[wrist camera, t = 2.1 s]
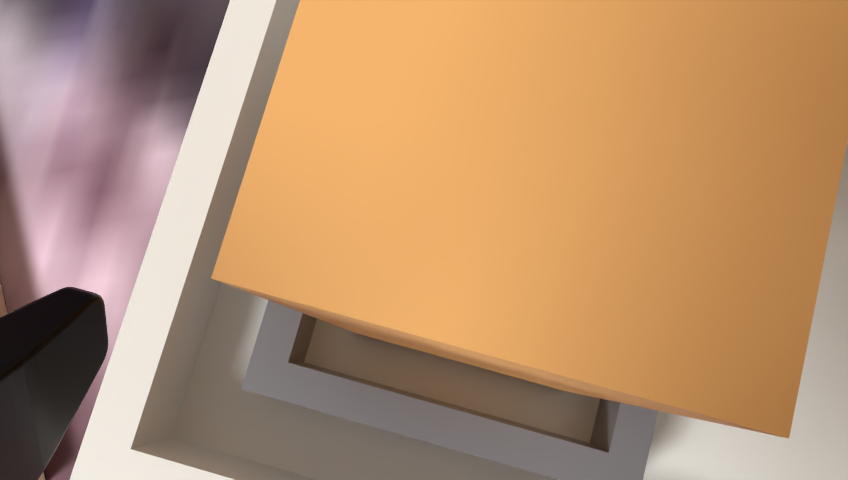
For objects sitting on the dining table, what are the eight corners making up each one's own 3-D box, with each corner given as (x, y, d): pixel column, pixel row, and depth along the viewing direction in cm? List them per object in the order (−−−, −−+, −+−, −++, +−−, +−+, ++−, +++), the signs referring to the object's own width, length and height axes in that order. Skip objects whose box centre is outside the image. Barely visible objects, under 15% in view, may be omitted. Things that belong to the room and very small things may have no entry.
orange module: (558, 389, 18) (788, 438, 6) (355, 333, 18) (211, 278, 7) (607, 190, 19) (894, -102, 7) (411, 139, 19) (371, -226, 7)
